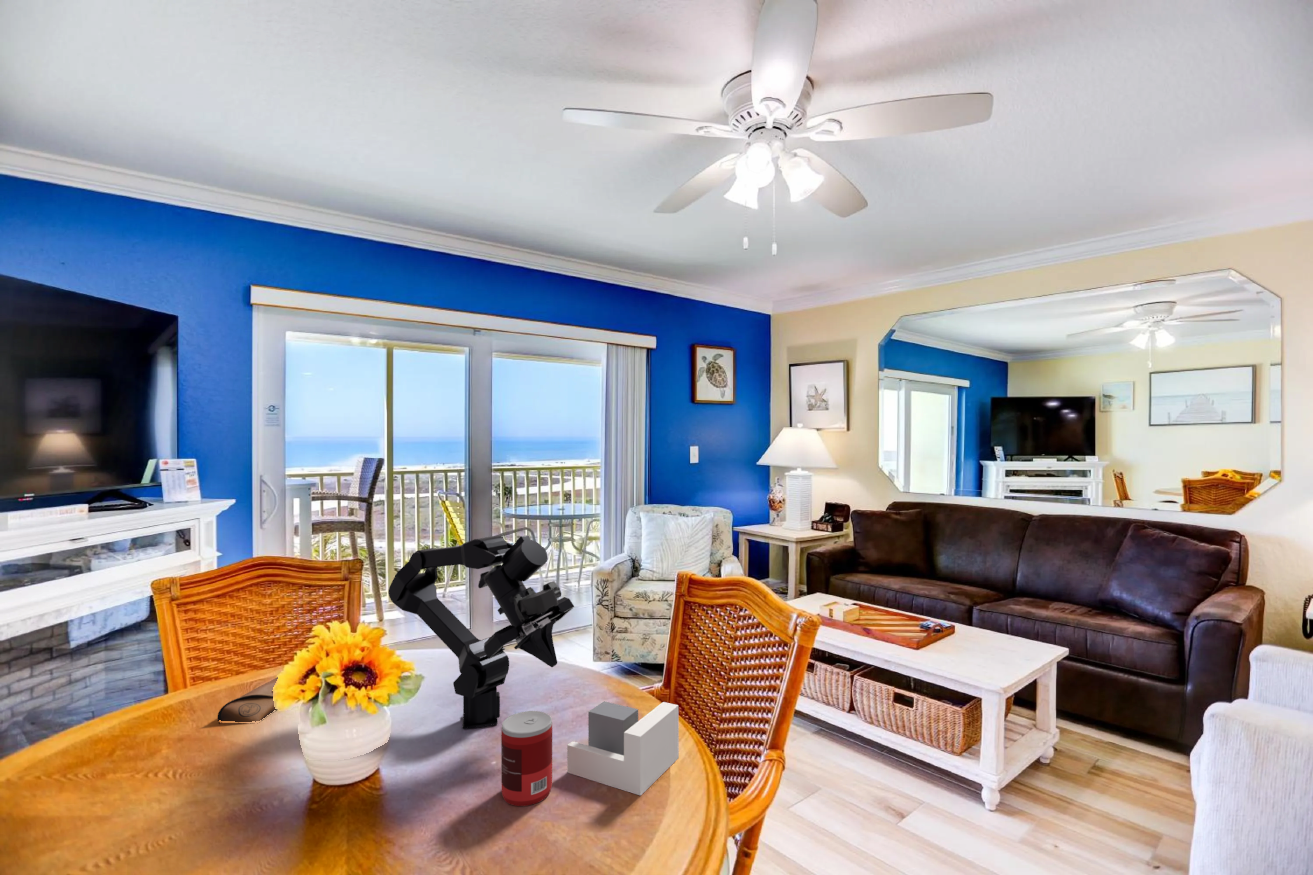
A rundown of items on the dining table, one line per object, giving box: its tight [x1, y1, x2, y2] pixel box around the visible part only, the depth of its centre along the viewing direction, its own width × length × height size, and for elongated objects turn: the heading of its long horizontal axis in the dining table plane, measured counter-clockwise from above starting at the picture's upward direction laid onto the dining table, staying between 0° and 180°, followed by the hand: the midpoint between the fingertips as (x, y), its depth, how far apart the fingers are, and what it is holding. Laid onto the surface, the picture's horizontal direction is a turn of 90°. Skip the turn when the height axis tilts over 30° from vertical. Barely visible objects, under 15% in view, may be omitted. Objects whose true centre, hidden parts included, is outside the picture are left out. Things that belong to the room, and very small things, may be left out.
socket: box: [566, 701, 680, 797], centre depth 103 cm, size 14×13×9 cm
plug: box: [587, 701, 639, 756], centre depth 103 cm, size 10×5×8 cm, turn 61°
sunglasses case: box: [217, 676, 278, 722], centre depth 127 cm, size 18×7×7 cm
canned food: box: [500, 710, 553, 807], centre depth 95 cm, size 8×8×11 cm
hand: (554, 665), depth 112 cm, fingers closed
